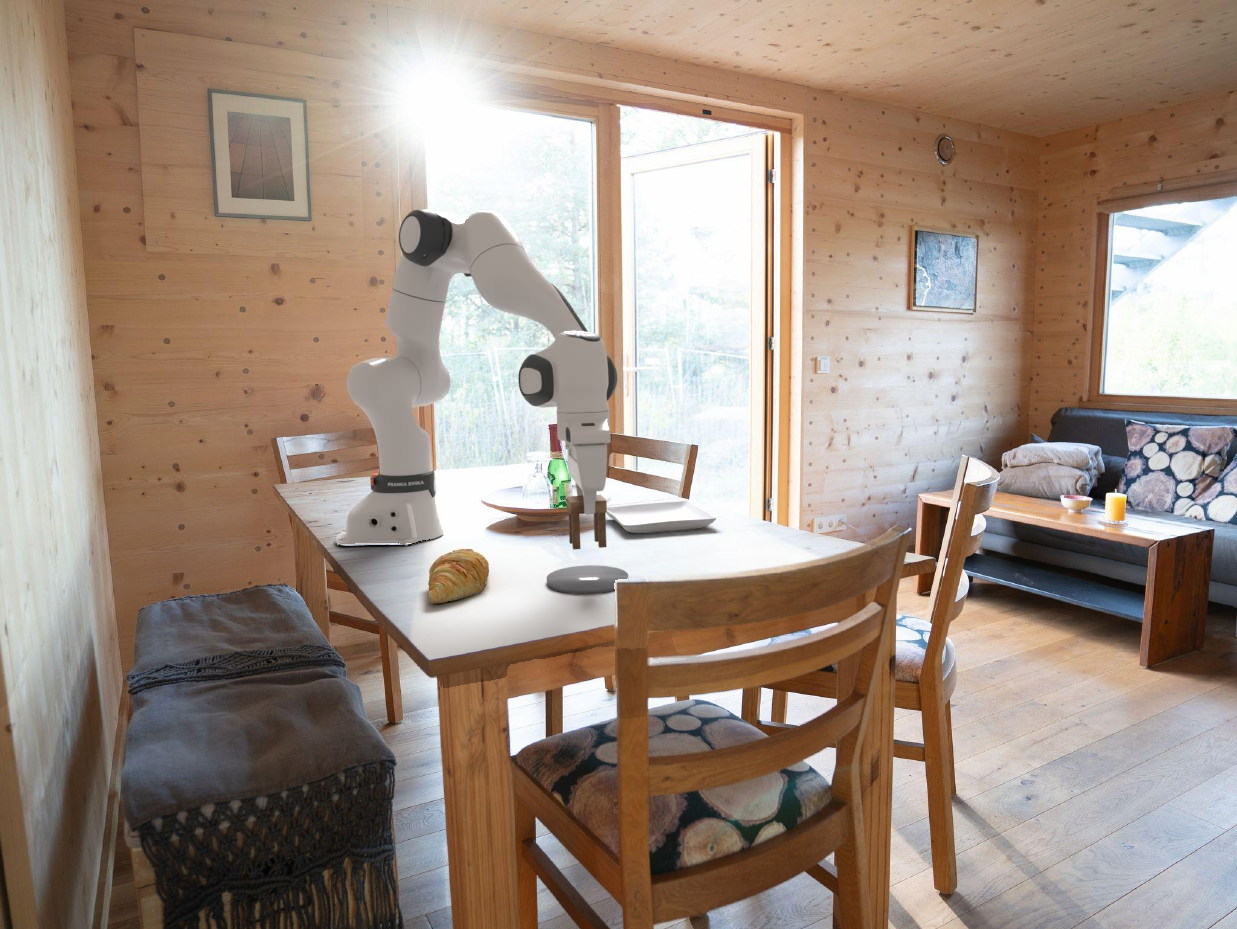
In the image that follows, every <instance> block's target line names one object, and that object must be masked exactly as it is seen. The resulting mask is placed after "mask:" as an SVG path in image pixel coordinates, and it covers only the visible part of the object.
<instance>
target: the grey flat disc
mask: <svg viewBox="0 0 1237 929" xmlns="http://www.w3.org/2000/svg"><path fill="white" fill-rule="evenodd" d="M627 578H628V579H629V573H628V572H627V571H626V570H624V569H621V568H618V567H613V566H610V565H609V566H608V565H593V564H592V565H574V566H568V567H563V568H560V569H556V570H554V571H552V572H550V573H548V575H546V586H547V587H548V588H550V589H551V590H553V591H556V592H560V593H565V594H572V595H573V594H577V595H591V594H603V593H607V592H608V593H609V592H612V591H615V589H614V583H615V580H618V579H627Z"/></svg>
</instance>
